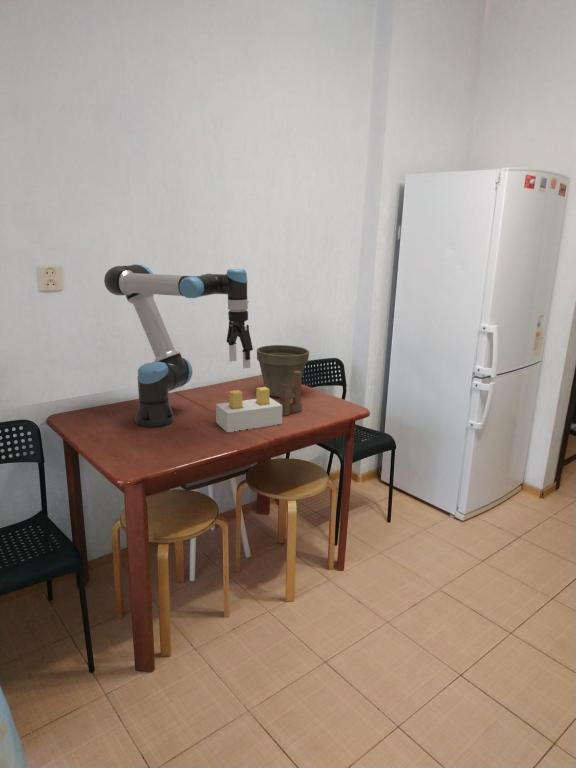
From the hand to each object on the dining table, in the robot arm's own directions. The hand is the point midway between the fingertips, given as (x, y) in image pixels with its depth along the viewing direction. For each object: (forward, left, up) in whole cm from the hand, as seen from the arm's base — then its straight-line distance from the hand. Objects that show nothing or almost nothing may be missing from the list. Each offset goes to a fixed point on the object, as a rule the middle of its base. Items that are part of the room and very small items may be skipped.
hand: (239, 364), depth 211 cm
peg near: (-2, -1, -19) cm, 19 cm away
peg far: (+10, -1, -19) cm, 22 cm away
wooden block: (+26, +4, -25) cm, 37 cm away
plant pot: (+36, +31, -25) cm, 54 cm away
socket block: (+4, -1, -25) cm, 25 cm away
